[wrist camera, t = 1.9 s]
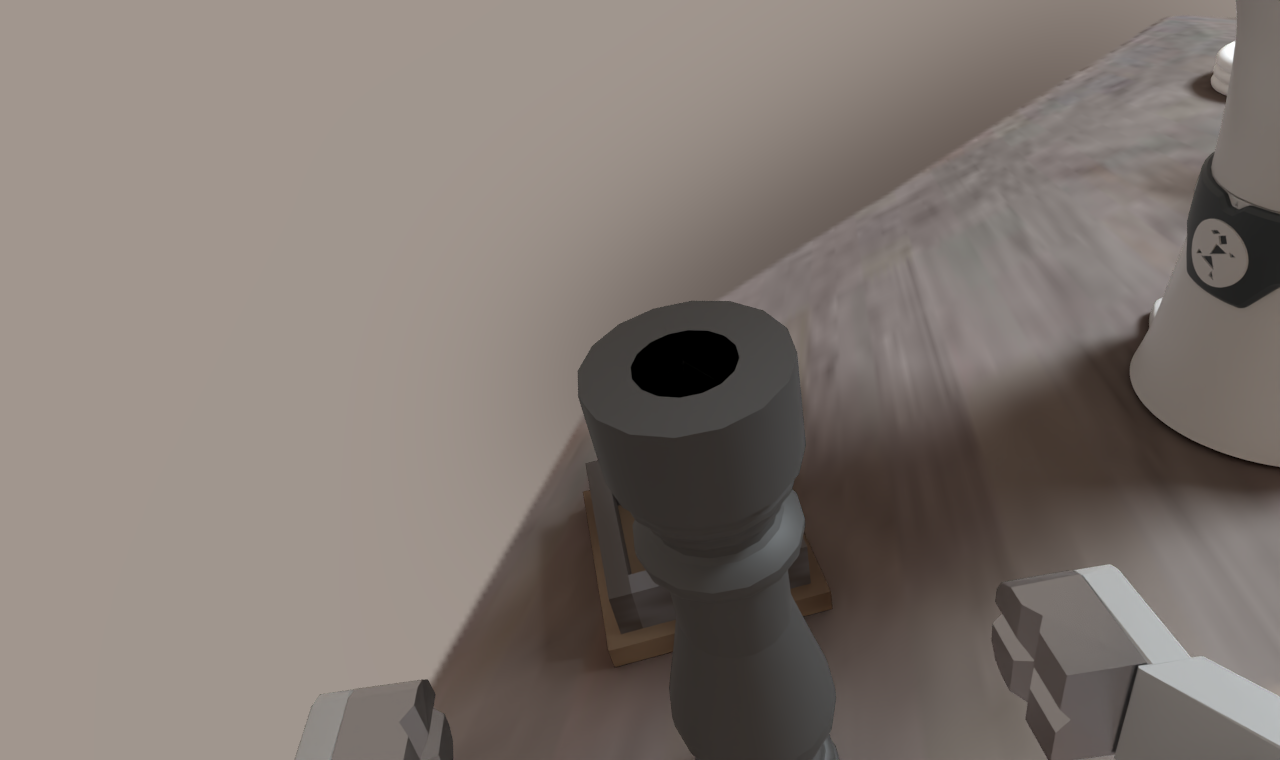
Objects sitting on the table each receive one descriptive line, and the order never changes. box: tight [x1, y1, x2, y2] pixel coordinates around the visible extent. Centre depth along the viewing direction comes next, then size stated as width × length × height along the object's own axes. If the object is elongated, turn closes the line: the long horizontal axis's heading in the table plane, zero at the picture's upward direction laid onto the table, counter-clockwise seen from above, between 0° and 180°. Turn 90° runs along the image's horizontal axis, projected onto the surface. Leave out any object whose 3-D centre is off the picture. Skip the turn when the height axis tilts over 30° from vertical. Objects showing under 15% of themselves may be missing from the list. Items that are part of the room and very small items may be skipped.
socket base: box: [583, 460, 832, 667], centre depth 46 cm, size 12×12×4 cm
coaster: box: [1211, 41, 1235, 96], centre depth 79 cm, size 10×10×4 cm
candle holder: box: [578, 301, 839, 760], centre depth 28 cm, size 6×6×25 cm
